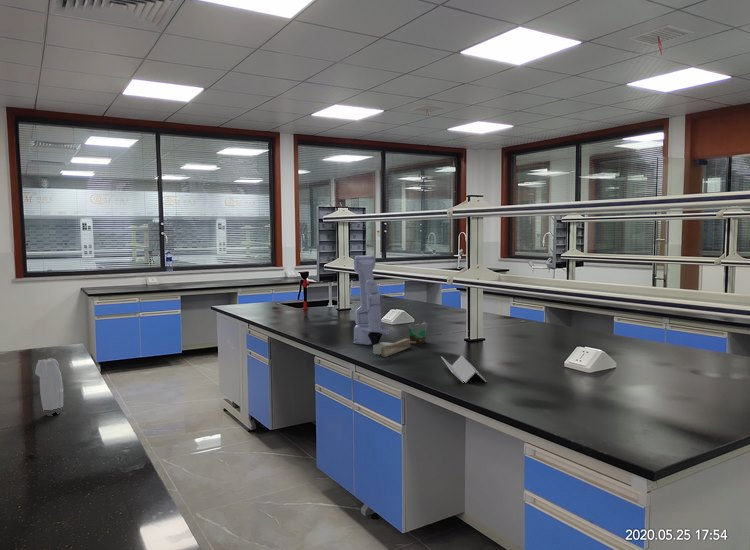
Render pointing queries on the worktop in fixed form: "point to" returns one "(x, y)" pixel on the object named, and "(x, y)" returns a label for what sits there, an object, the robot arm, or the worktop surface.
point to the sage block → (379, 347)
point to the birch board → (395, 347)
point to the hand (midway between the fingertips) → (375, 348)
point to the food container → (417, 333)
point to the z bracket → (462, 369)
